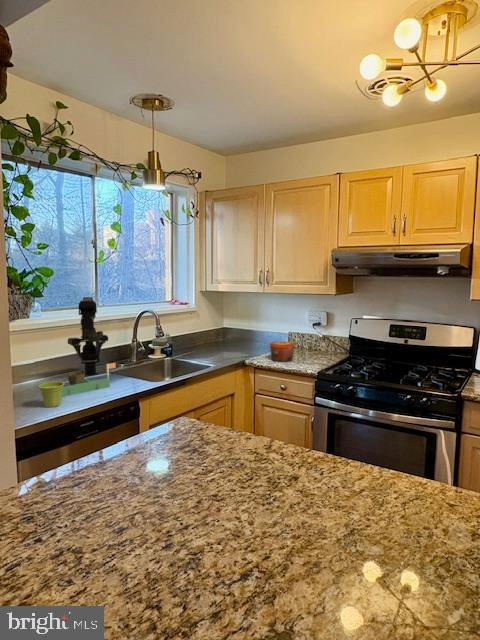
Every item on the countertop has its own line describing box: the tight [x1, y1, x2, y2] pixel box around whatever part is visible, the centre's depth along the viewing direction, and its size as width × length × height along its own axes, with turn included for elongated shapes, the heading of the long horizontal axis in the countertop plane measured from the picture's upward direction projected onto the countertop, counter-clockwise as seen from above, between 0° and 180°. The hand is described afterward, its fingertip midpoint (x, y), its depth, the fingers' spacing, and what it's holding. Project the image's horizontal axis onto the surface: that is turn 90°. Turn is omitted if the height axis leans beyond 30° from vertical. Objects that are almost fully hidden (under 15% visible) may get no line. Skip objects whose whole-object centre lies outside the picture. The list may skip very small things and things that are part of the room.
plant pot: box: [38, 381, 65, 408], centre depth 169 cm, size 9×9×9 cm
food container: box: [269, 340, 296, 363], centre depth 258 cm, size 16×16×11 cm
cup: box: [67, 370, 86, 386], centre depth 192 cm, size 8×7×8 cm
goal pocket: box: [62, 362, 117, 397], centre depth 193 cm, size 12×30×11 cm, turn 135°
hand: (88, 356), depth 208 cm, fingers open, 9 cm apart
